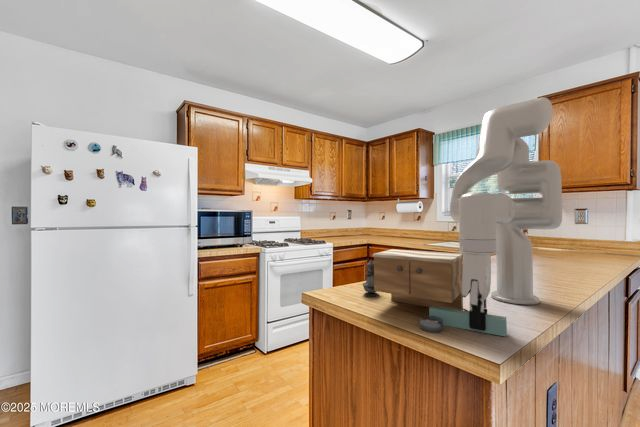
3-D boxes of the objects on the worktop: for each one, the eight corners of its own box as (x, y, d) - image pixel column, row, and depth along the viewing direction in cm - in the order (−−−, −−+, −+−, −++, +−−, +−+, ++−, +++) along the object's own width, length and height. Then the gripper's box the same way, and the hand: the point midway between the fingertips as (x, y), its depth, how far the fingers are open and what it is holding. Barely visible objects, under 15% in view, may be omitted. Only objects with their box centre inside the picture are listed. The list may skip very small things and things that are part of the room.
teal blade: (432, 319, 74) (431, 305, 74) (506, 332, 65) (506, 317, 65) (429, 322, 72) (429, 308, 72) (506, 336, 63) (505, 320, 63)
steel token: (425, 323, 72) (425, 314, 72) (446, 329, 68) (446, 318, 68) (416, 329, 68) (416, 319, 68) (438, 335, 65) (438, 324, 65)
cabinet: (393, 298, 93) (392, 249, 93) (464, 310, 81) (463, 253, 81) (371, 311, 81) (371, 254, 81) (452, 327, 69) (451, 260, 69)
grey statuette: (362, 297, 95) (362, 260, 95) (362, 292, 101) (362, 257, 101) (380, 297, 94) (380, 260, 94) (380, 293, 100) (379, 258, 100)
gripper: (465, 243, 76) (466, 314, 76) (452, 249, 63) (453, 334, 63) (499, 244, 72) (500, 320, 71) (492, 251, 59) (493, 343, 58)
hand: (478, 326), depth 67 cm, fingers closed on teal blade, 2 cm apart
